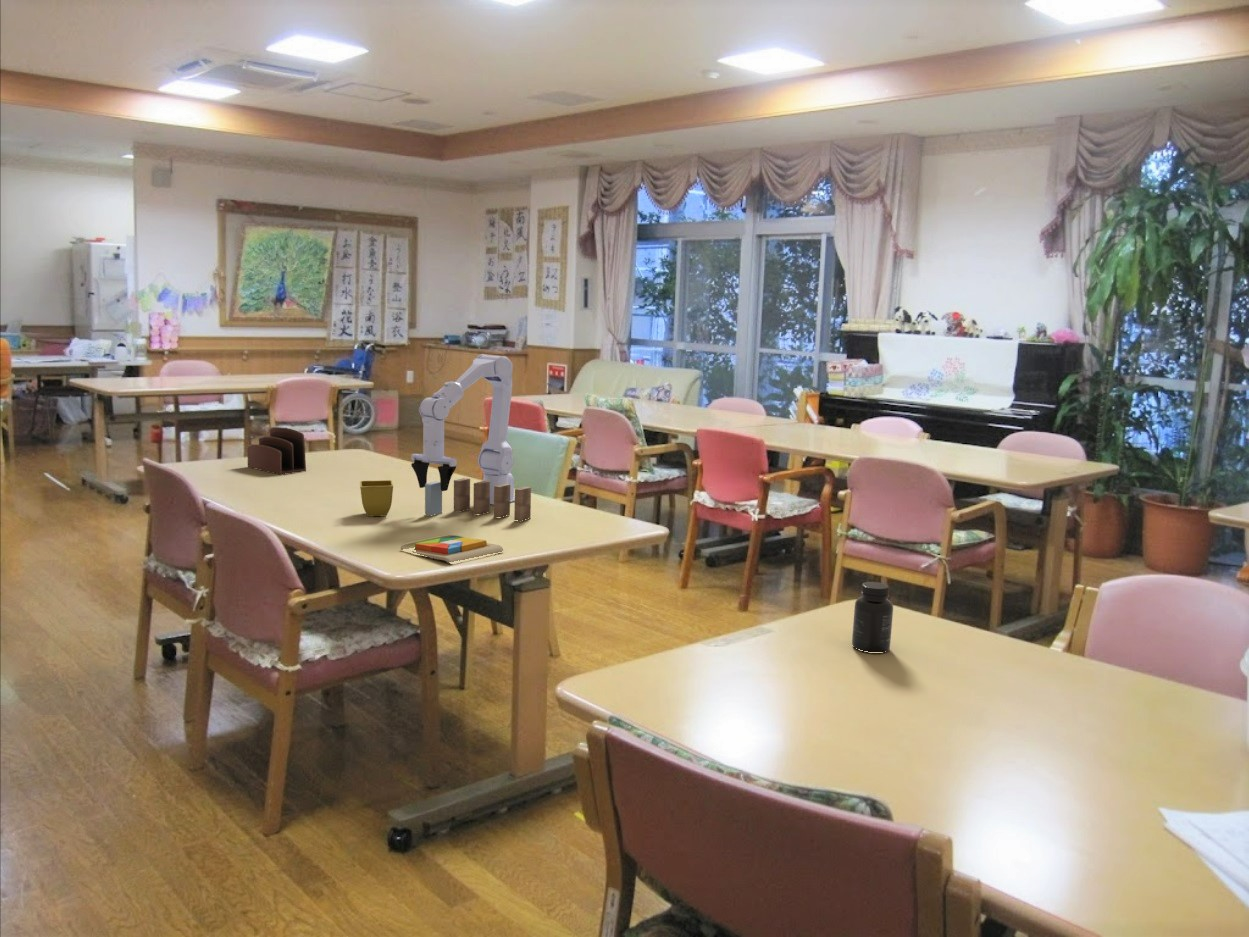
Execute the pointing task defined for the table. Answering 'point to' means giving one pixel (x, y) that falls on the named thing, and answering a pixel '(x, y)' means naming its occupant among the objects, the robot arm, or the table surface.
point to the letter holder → (279, 452)
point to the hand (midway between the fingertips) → (433, 489)
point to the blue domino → (433, 498)
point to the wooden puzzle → (452, 547)
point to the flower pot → (376, 497)
